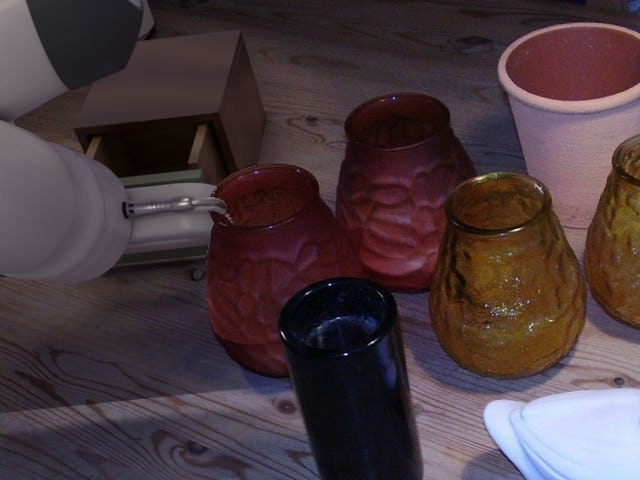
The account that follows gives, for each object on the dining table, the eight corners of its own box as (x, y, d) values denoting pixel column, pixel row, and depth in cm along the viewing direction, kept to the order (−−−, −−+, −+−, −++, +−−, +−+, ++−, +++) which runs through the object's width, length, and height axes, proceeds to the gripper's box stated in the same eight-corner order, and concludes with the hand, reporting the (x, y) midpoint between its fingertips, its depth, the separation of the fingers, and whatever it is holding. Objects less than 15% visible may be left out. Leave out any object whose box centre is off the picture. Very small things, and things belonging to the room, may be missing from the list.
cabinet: (248, 203, 91) (218, 111, 84) (113, 218, 91) (72, 128, 85) (266, 117, 101) (240, 28, 94) (144, 131, 102) (110, 44, 95)
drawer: (220, 286, 82) (190, 209, 76) (84, 301, 82) (44, 225, 77) (247, 162, 94) (223, 88, 89) (128, 175, 95) (98, 102, 89)
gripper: (207, 151, 66) (262, 185, 80) (-94, 185, 67) (12, 213, 81) (217, 247, 66) (270, 264, 80) (-84, 279, 67) (20, 291, 81)
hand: (138, 238), depth 80 cm, fingers open, 6 cm apart
